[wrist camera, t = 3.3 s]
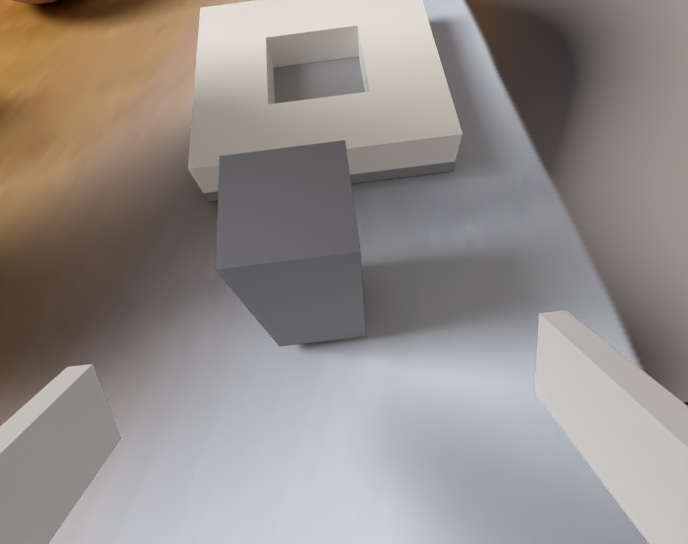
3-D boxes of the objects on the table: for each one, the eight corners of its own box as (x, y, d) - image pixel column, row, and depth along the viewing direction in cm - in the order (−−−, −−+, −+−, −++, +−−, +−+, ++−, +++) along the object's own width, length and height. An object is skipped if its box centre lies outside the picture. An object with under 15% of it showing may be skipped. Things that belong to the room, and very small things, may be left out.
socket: (208, 201, 28) (187, 168, 25) (216, 48, 35) (200, 7, 32) (452, 171, 28) (462, 134, 25) (412, 23, 34) (415, -21, 31)
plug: (283, 350, 23) (215, 269, 13) (280, 275, 25) (219, 156, 15) (366, 340, 23) (360, 251, 13) (356, 266, 25) (345, 140, 15)
